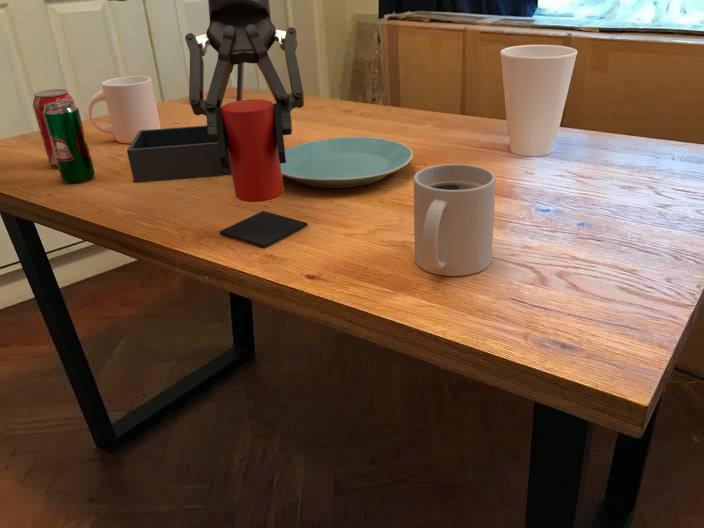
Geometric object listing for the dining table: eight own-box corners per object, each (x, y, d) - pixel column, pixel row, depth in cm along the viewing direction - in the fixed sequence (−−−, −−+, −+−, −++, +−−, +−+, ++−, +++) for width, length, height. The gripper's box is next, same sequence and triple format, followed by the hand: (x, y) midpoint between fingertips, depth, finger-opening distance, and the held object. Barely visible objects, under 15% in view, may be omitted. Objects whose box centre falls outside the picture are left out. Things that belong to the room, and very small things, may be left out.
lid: (239, 21, 95) (268, 25, 96) (242, 12, 105) (268, 16, 106) (235, 139, 103) (262, 141, 104) (238, 120, 113) (262, 123, 114)
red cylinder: (245, 206, 79) (231, 114, 74) (229, 191, 84) (214, 104, 78) (291, 195, 82) (280, 106, 76) (273, 182, 86) (261, 96, 81)
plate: (244, 175, 105) (242, 158, 103) (347, 143, 118) (346, 128, 117) (337, 210, 91) (336, 190, 89) (442, 169, 104) (442, 151, 103)
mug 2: (463, 236, 81) (465, 158, 77) (511, 266, 74) (516, 181, 69) (385, 257, 77) (382, 176, 72) (428, 291, 70) (428, 202, 65)
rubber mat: (219, 234, 85) (219, 231, 84) (263, 214, 90) (263, 210, 90) (264, 248, 80) (264, 244, 80) (307, 225, 86) (307, 222, 86)
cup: (532, 136, 118) (539, 42, 110) (583, 151, 109) (594, 50, 101) (481, 148, 113) (484, 50, 105) (529, 166, 104) (537, 60, 96)
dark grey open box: (134, 182, 104) (126, 150, 101) (145, 160, 114) (139, 130, 111) (242, 173, 106) (237, 141, 103) (244, 152, 116) (240, 122, 113)
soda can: (55, 181, 106) (33, 105, 100) (83, 171, 109) (64, 98, 103) (74, 186, 103) (53, 109, 97) (102, 176, 107) (83, 101, 101)
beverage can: (49, 161, 115) (29, 91, 109) (87, 155, 117) (69, 86, 112) (51, 171, 110) (30, 98, 104) (91, 164, 112) (72, 93, 107)
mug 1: (96, 137, 128) (82, 80, 122) (160, 129, 131) (149, 74, 126) (96, 149, 121) (81, 89, 115) (163, 140, 124) (152, 82, 119)
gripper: (313, 12, 88) (333, 168, 82) (168, 20, 86) (177, 181, 80) (312, -30, 81) (334, 137, 75) (153, -22, 79) (162, 151, 73)
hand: (253, 160), depth 77 cm, fingers closed on red cylinder, 6 cm apart
